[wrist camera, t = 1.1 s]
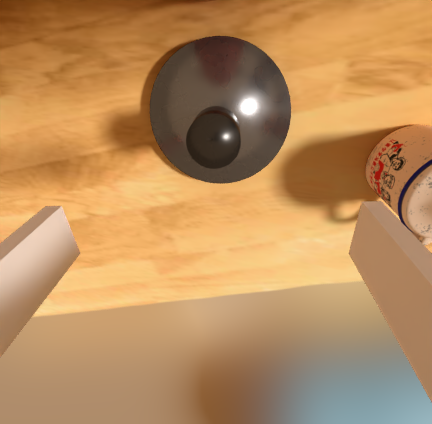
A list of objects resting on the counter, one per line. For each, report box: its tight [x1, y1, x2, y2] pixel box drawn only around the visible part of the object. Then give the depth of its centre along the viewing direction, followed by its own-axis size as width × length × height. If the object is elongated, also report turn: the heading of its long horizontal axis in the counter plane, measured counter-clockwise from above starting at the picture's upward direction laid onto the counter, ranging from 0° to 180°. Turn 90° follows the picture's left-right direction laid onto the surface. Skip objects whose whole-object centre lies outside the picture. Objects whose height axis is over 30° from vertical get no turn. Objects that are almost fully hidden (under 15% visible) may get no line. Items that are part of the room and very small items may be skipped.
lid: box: [150, 36, 291, 183], centre depth 26 cm, size 15×15×10 cm
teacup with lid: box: [366, 125, 432, 245], centre depth 27 cm, size 12×9×12 cm
